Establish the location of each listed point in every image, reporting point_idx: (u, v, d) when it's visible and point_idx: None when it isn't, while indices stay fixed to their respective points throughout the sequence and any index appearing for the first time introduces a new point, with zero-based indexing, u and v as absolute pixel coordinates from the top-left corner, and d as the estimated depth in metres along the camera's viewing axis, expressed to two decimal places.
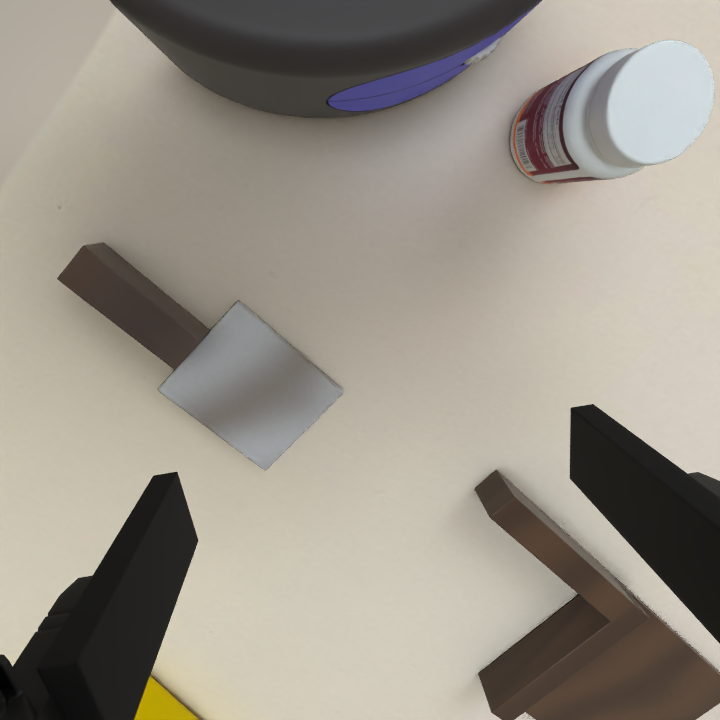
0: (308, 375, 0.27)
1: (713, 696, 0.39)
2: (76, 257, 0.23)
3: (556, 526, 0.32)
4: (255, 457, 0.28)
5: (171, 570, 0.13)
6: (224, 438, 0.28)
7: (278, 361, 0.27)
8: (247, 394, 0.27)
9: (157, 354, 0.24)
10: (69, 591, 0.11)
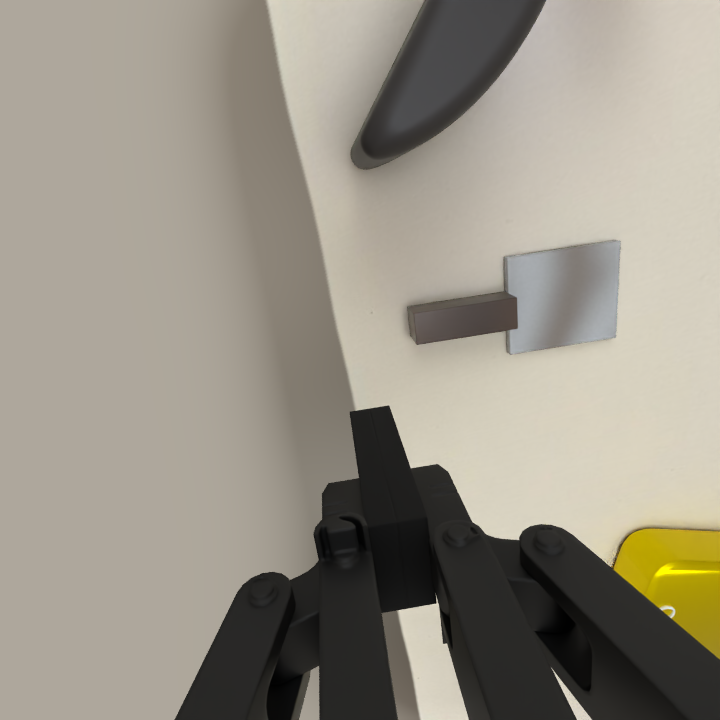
0: (588, 253, 0.32)
1: None
2: (415, 323, 0.31)
3: None
4: (602, 335, 0.34)
5: None
6: (573, 343, 0.34)
7: (562, 264, 0.32)
8: (562, 303, 0.33)
9: (501, 330, 0.32)
10: (328, 491, 0.14)
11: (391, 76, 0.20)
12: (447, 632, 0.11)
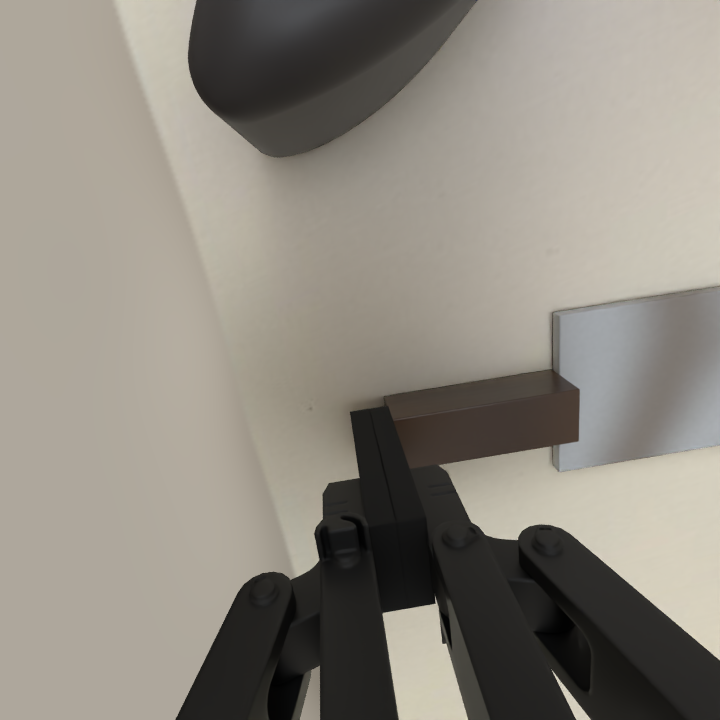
0: (703, 306, 0.18)
1: None
2: None
3: None
4: (715, 439, 0.20)
5: None
6: (665, 452, 0.20)
7: (656, 326, 0.18)
8: (652, 390, 0.19)
9: (549, 444, 0.18)
10: (328, 491, 0.14)
11: None
12: (446, 632, 0.11)
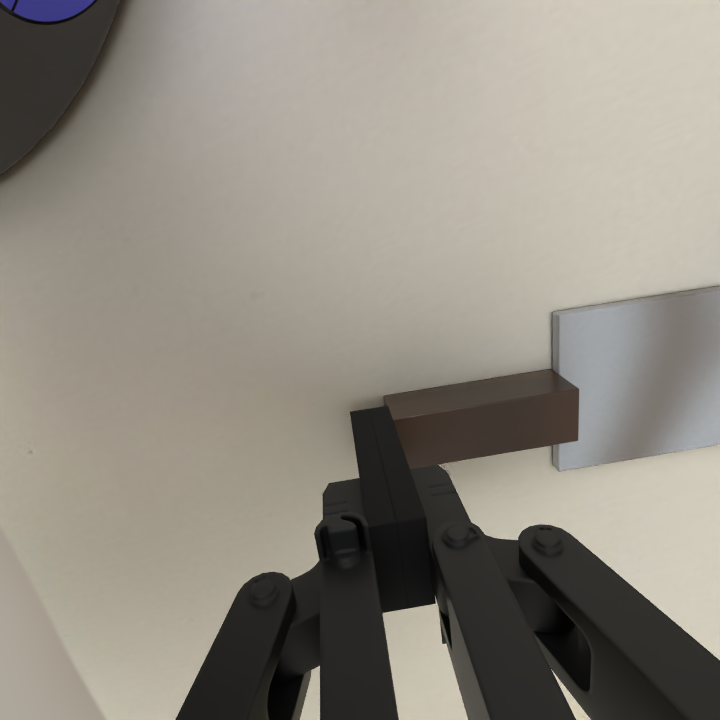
0: (702, 306, 0.18)
1: None
2: None
3: None
4: (714, 439, 0.20)
5: None
6: (665, 452, 0.20)
7: (656, 325, 0.18)
8: (651, 389, 0.19)
9: (548, 443, 0.18)
10: (328, 491, 0.14)
11: None
12: (446, 632, 0.11)
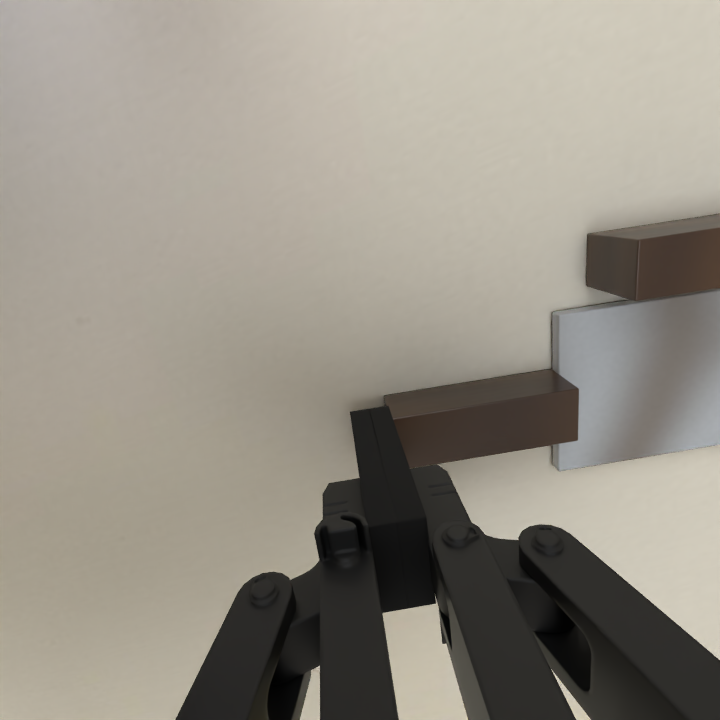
0: (702, 306, 0.18)
1: None
2: None
3: None
4: (714, 439, 0.20)
5: None
6: (665, 452, 0.20)
7: (656, 326, 0.18)
8: (651, 389, 0.19)
9: (548, 443, 0.18)
10: (328, 491, 0.14)
11: None
12: (446, 632, 0.11)
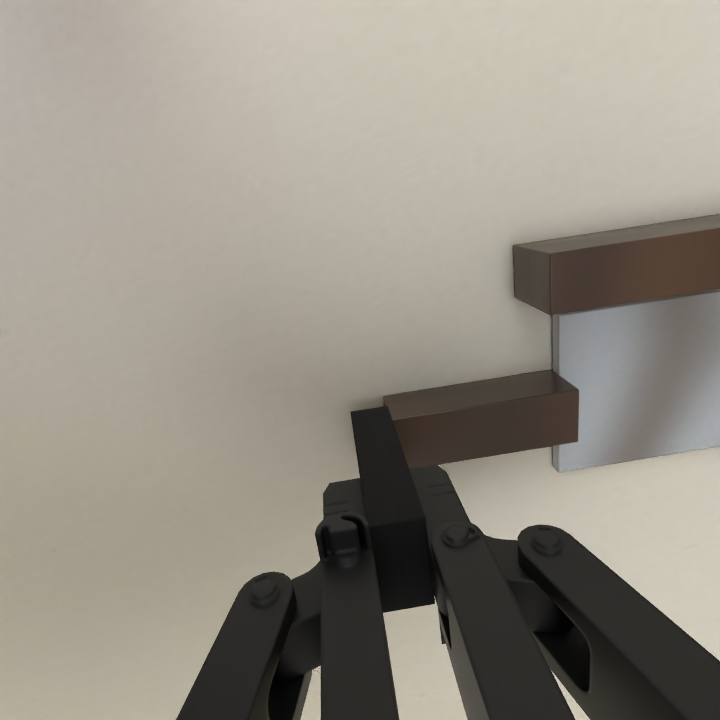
0: (703, 306, 0.18)
1: None
2: None
3: (684, 222, 0.17)
4: (715, 440, 0.20)
5: None
6: (666, 453, 0.20)
7: (656, 326, 0.18)
8: (652, 390, 0.19)
9: (548, 444, 0.18)
10: (329, 491, 0.14)
11: None
12: (446, 632, 0.11)
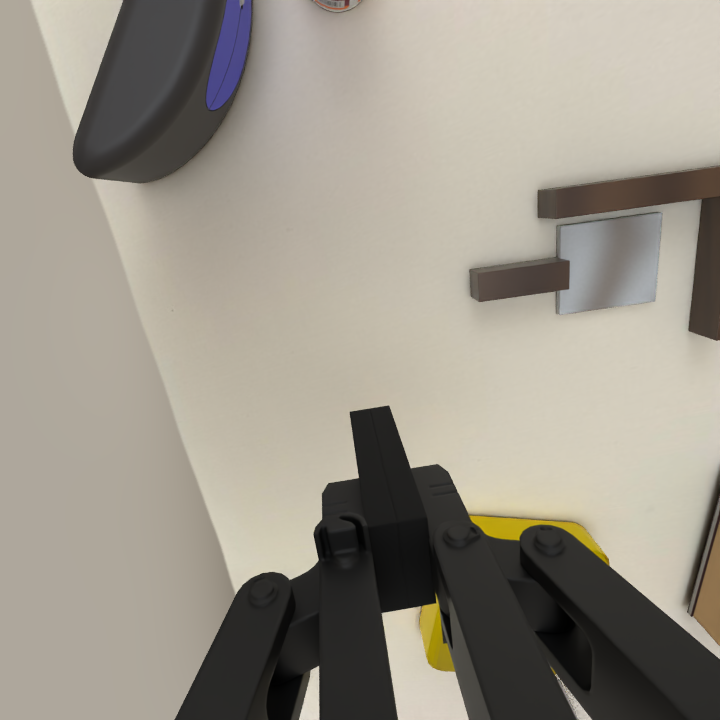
0: (633, 223, 0.36)
1: None
2: (479, 282, 0.35)
3: (621, 179, 0.35)
4: (643, 299, 0.38)
5: None
6: (616, 305, 0.38)
7: (610, 233, 0.36)
8: (608, 268, 0.37)
9: (554, 290, 0.36)
10: (328, 491, 0.14)
11: (85, 108, 0.24)
12: (447, 632, 0.11)
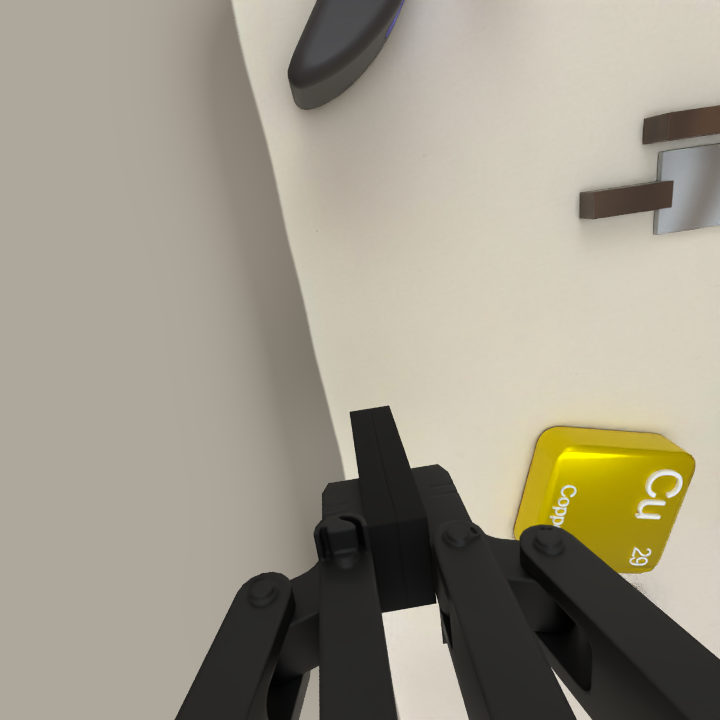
0: None
1: None
2: (594, 200, 0.39)
3: None
4: None
5: None
6: (707, 225, 0.43)
7: (705, 158, 0.41)
8: (702, 191, 0.42)
9: (659, 207, 0.40)
10: (327, 491, 0.14)
11: (306, 24, 0.28)
12: (447, 632, 0.11)
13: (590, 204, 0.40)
